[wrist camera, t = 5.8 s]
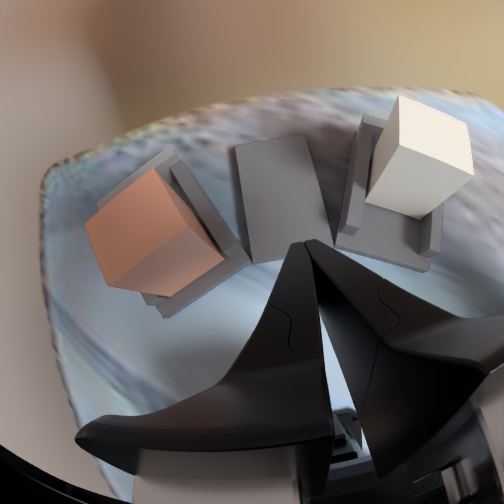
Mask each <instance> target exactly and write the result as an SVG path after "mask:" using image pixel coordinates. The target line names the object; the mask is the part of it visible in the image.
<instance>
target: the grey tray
mask: <svg viewBox="0 0 504 504" xmlns="http://www.w3.org/2000/svg"><path fill="white" fill-rule="evenodd" d="M386 123H387V120H384V119H381V118H378V117H374V116H371V115H368V114H363V117H362V120H361V123H360V126H359V129H358V132H357V133H356V132H355V133H354V136H353V141H352V148H351V155H350V161H349V168H348V174H347V180H346V186H345V191H344V197H343V202H342V207H341V213H340V218H339V222H338V227H337V232H336V237H335V241H334V245H333V240H332V236H331V231H330V227H329V223H328V219H327V214H326V210H325V206H324V202H323V198H322V195H321V191H320V187H319V183H318V180H317V176H316V172H315V169H314V165H313V162H312V158H311V155H310V152H309V148H308V145H307V142H306V139H305V135H299V136H292V137H285V138H279V139H273V140H267V141H261V142H255V143H250V144H245V145H240V146H235V150H236V157H237V163H238V170H239V176H240V183H241V189H242V196H243V202H244V209H245V215H246V222H247V228H248V235H249V241H250V248H251V254H252V261H253V263H254V264H258V263H264V262H269V261H275V260H281V259H285V257H286V254H287V252H288V249H289V247H290V244H291V243H296V242H301V241H302V242H303V243H304V241H306V240H311V239H317V240H319V241H321V242H322V243H324V244H326V245H328V246H330V247H331V248H336V249H340V250H344V251H347V252H351V253H355V254H358V255H362V256H366V257H369V258H373V259H376V260H380V261H384V262H387V263H391V264H394V265H398V266H401V267H405V268H408V269H412V270H415V271H418V272H422V273H424V272H427V271H429V264H430V257H432V256H434V255H437V254H439V253H440V250H441V239H442V225H443V202H442V203H441V204H439V205H438V206H437V207H436V208H434V209H433V210H432V211H431V212H429V213H428V214H427V215H426V216H424V217H423V218H422V219H420V220H419V219H416V218H413V217H410V216H407V215H404V214H401V213H398V212H395V211H392V210H389V209H386V208H382V207H379V206H376V205H372V204H369V203H366V202H364V200H365V194H366V186H367V179H368V171H369V162H370V157H371V155H372V153H373V151H374V149H375V147H376V145H377V142H378V140H379V138H380V136H381V134H382V132H383V129H384V127H385V125H386ZM152 168H154V169H155V170H156V171H157V173H158V174H159V175H160V176H161V177H162V178H163V179H164V180H165V181H166V183H167V184H168V185H169V186H170V187H171V188H172V189H173V190H174V191H175V192H176V194H177V195H178V196H179V197H180V198H181V199H182V200H183V201H184V202H185V203H186V205H187V206H188V207H189V208H190V209H191V210H192V211H193V212H194V213H195V214H196V215H197V217H198V218H199V219H200V221H201V223H202V224H203V226H204V227H205V229H206V230H207V232H208V234H209V235H210V237H211V238H212V240H213V241H214V243H215V245H216V246H217V248H218V249H219V251H220V252H221V254H222V255H223V257H224V258H225V260H223V261H222V262H220V263H219V264H217V265H216V266H214V267H213V268H212V269H210V270H209V271H207V272H206V273H204V274H203V275H201V276H200V277H198V278H197V279H195V280H194V281H193V282H191V283H190V284H188V285H187V286H185V287H184V288H182V289H181V290H180V291H178V292H177V293H175V294H174V295H172V296H171V297H169V296H162V295H156V294H150V293H144V292H141V294H142V296H143V298H144V300H145V302H146V304H147V305H153V306H157V308H158V309H159V311H160V313H161V315H162V317H163V318H170V317H171V316H173V315H174V314H176V313H177V312H179V311H180V310H182V309H183V308H185V307H186V306H188V305H189V304H191V303H192V302H194V301H195V300H197V299H198V298H200V297H201V296H203V295H204V294H205V293H207V292H208V291H210V290H211V289H213V288H214V287H216V286H217V285H219V284H220V283H222V282H223V281H225V280H226V279H228V278H229V277H231V276H232V275H234V274H235V273H237V272H238V271H239V270H241V269H242V268H244V267H245V266H247V265H248V264H250V263H251V262H252V261H251V260H250V258H249V257H248V255H247V254H246V252H245V251H244V249H243V248H242V246H241V245H240V243H239V242H238V240H237V239H236V238H235V236H234V235H233V233H232V232H231V230H230V229H229V227H228V226H227V224H226V223H225V221H224V220H223V218H222V217H221V215H220V214H219V212H218V211H217V210H216V208H215V207H214V205H213V204H212V202H211V201H210V199H209V198H208V196H207V195H206V193H205V192H204V190H203V189H202V187H201V186H200V184H199V183H198V181H197V180H196V178H195V177H194V175H193V174H192V172H191V171H190V169H189V168H188V166H187V165H186V164H185V162H184V161H183V162H181V160H180V159H179V157H178V156H177V155H176V153H175V152H174V150H173V149H172V147H171V146H169V147H168V148H166V149H165V150H163V151H162V152H161V153H159V154H158V155H156V156H155V157H154V158H152V159H151V160H149V161H148V162H147V163H145V164H144V165H143V166H141V167H140V168H139V169H137V170H136V171H135V172H133V173H132V174H131V175H130V176H128V177H127V178H126V179H124V180H123V181H122V182H121V183H119V184H118V185H117V186H116V187H115V188H113V189H112V190H111V191H110V192H108V193H107V194H106V195H105V196H104V197H103V198H101V199H100V200H99V201H98V202H97V203H96V205H97V207H98V210H100V209H102V208H103V207H104V206H105V205H106V204H107V203H109V202H110V201H111V200H112V199H113V198H115V197H116V196H117V195H118V194H120V193H121V192H122V191H123V190H125V189H126V188H127V187H128V186H130V185H131V184H132V183H133V182H135V181H136V180H137V179H139V178H140V177H141V176H143V175H144V174H145V173H147V172H148V171H149V170H151V169H152Z"/></svg>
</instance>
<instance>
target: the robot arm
mask: <svg viewBox="0 0 504 504" xmlns="http://www.w3.org/2000/svg"><path fill="white" fill-rule="evenodd" d="M319 313H320V315H321V318H322V320H323V323H324V325H325V328H326V331H327V333H328V336H329V338H330V341H331V343H332V346H333V349H334V351H335V354H336V357H337V359H338V362H339V365H340V367H341V370H342V373H343V375H344V378H345V381H346V384H347V386H348V389H349V392H350V395H351V398H352V401H353V403H354V406H355V409H356V411H353V412H349V413H344V414H340V415H336V414H332V408H331V402H330V396H329V390H328V384H327V378H326V372H325V363H324V353H323V343H322V333H321V325H320V316H319ZM353 416H356V418H355V419H354V420H352V419H351V418H352V417H353ZM361 427H362V430H363V433H364V436H365V439H366V442H367V445H368V448H369V451H370V454H371V455H369V456H365V455H364V454H363V452H362V432H361ZM74 439H75V442H76V444H77V445H78V446H80V447H81V448H82V449H84V450H85V451H87V452H88V453H90V454H92V455H94V456H95V457H97V458H99V459H101V460H103V461H105V462H107V463H109V464H111V465H113V466H115V467H117V468H119V469H121V470H123V471H125V472H127V473H129V474H132V475H134V476H135V480H134V488H133V497H132V503H129V502H125V501H121V500H118V499H114V498H110V497H107V496H103V495H100V494H97V493H94V492H91V491H88V490H85V489H83V488H80V487H77V486H74V485H72V484H70V483H67V482H65V481H63V480H60V479H59V478H56V477H54V476H52V475H50V474H48V473H46V472H44V471H43V470H41V469H39V468H37V467H36V466H34V465H32V464H30V463H28V462H27V461H25V460H23V459H22V458H20V457H18V456H17V455H15V454H14V453H12V452H11V451H9V450H8V449H6V448H5V447H3V446H1V445H0V504H504V314H500V315H494V316H488V317H481V318H473V319H472V318H462V317H459V316H456V315H454V314H451V313H449V312H447V311H445V310H443V309H441V308H439V307H437V306H435V305H433V304H431V303H429V302H427V301H425V300H423V299H421V298H419V297H417V296H415V295H413V294H411V293H409V292H407V291H405V290H404V289H402V288H400V287H398V286H397V285H395V284H393V283H391V282H390V281H388V280H386V279H383V277H381V276H380V275H378V274H376V273H375V272H373V271H371V270H369V269H368V268H366V267H364V266H363V265H361V264H359V263H358V262H356V261H354V260H352V259H351V258H349V257H347V256H345V255H344V254H342V253H340V252H338V251H337V250H335V249H333V248H331V247H330V246H328V245H326V244H324V243H322V242H321V241H319V240H317V239H311V240H306V241H304V243H303V242H302V241H301V242H296V243H291V244H290V247H289V249H288V252H287V254H286V257H285V260H284V262H283V265H282V267H281V270H280V272H279V275H278V277H277V280H276V282H275V285H274V287H273V290H272V292H271V295H270V297H269V299H268V302H267V305H266V306H265V309H264V311H263V314H262V316H261V318H260V320H259V322H258V324H257V326H256V328H255V330H254V331H253V333H252V335H251V336H250V338H249V340H248V341H247V343H246V345H245V346H244V348H243V349H242V351H241V352H240V354H239V355H238V357H237V359H236V360H235V362H234V363H233V365H232V366H231V368H230V369H229V371H228V372H227V374H226V375H225V376H224V377H223V378H222V379H221V380H220V381H219V382H218V383H217V384H216V385H214V386H212V387H211V388H209V389H206V390H204V391H202V392H200V393H198V394H196V395H194V396H192V397H189V398H187V399H185V400H183V401H181V402H178V403H176V404H174V405H172V406H169V407H167V408H165V409H162V410H160V411H157V412H154V413H150V414H146V415H140V416H121V415H104V416H101V417H99V418H97V419H95V420H93V421H91V422H89V423H88V424H86V425H85V426H84V427H83V428H81V430H80V431H79V432H78V433H77V434H76V436H75V438H74Z"/></svg>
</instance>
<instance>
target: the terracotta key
mask: <svg viewBox="0 0 504 504" xmlns="http://www.w3.org/2000/svg"><path fill="white" fill-rule="evenodd" d="M84 225H85V228H86V231H87V234H88V237H89V240H90V243H91V245H92V248H93V251H94V253H95V256H96V258H97V261H98V263H99V266H100V268H101V271H102V273H103V276H104V278H105V280H106V283H107V285H108V286H111V287H116V288H121V289H127V290H132V291H138V292H144V293H150V294H156V295H162V296H169V297H171V296H172V295H174V294H175V293H177V292H178V291H180V290H181V289H182V288H184V287H185V286H187V285H188V284H190V283H191V282H193V281H194V280H195V279H197V278H198V277H200V276H201V275H203V274H204V273H206V272H207V271H209V270H210V269H212V268H213V267H214V266H216V265H217V264H219V263H220V262H222V261H223V260H225V258H224V257H223V255H222V254H221V252H220V251H219V249H218V248H217V246H216V245H215V243H214V241H213V240H212V238H211V237H210V235H209V234H208V232H207V230H206V229H205V227H204V226H203V224H202V223H201V221H200V219H199V218H198V217H197V215H196V214H195V213H194V212H193V211H192V210H191V209H190V208H189V207H188V206H187V205H186V203H185V202H184V201H183V200H182V199H181V198H180V197H179V196H178V195H177V194H176V192H175V191H174V190H173V189H172V188H171V187H170V186H169V185H168V184H167V183H166V181H165V180H164V179H163V178H162V177H161V176H160V175H159V174H158V173H157V171H156V170H155V169H154V168H152V169H151V170H149V171H148V172H147V173H145V174H144V175H143V176H141V177H140V178H139V179H137V180H136V181H135V182H133V183H132V184H131V185H130V186H128V187H127V188H126V189H125V190H123V191H122V192H121V193H120V194H118V195H117V196H116V197H115V198H113V199H112V200H111V201H110V202H109V203H107V204H106V205H105V206H104V207H103V208H102V209H100V210H99V211H98V212H97V213H96V214H95V215H94V216H92V217H91V218H90V219H89V220H88V221H87V222H86V223H85V224H84Z"/></svg>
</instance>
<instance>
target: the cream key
mask: <svg viewBox="0 0 504 504" xmlns="http://www.w3.org/2000/svg"><path fill="white" fill-rule="evenodd" d="M473 176H474V172H473V162H472V154H471V147H470V141H469V135H468V129H467V124H465V123H463V122H461V121H459V120H457V119H455V118H453V117H451V116H449V115H447V114H445V113H442V112H440V111H438V110H436V109H433V108H431V107H429V106H426V105H424V104H421V103H419V102H416V101H413V100H411V99H408V98H405V97H403V96H400V95H398V98H397V100H396V102H395V105H394V107H393V109H392V112H391V114H390V116H389V118H388V121H387V123H386V125H385V127H384V129H383V132H382V134H381V136H380V138H379V140H378V142H377V145H376V147H375V149H374V151H373V153H372V155H371V157H370V162H369V171H368V179H367V186H366V194H365V200H364V202H366V203H369V204H372V205H376V206H379V207H382V208H386V209H389V210H392V211H395V212H398V213H401V214H404V215H407V216H410V217H413V218H416V219H419V220H420V219H422V218H423V217H424V216H426V215H427V214H428V213H429V212H431V211H432V210H433V209H434V208H436V207H437V206H438V205H439V204H441V203H442V202H443V201H444V200H446V199H447V198H448V197H449V196H451V195H452V194H453V193H454V192H455V191H457V190H458V189H459V188H460V187H461V186H463V185H464V184H465V183H466V182H467V181H469V180H470V179H471V178H472V177H473Z"/></svg>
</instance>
